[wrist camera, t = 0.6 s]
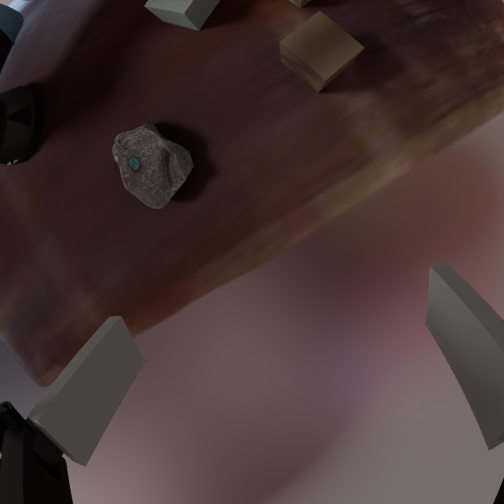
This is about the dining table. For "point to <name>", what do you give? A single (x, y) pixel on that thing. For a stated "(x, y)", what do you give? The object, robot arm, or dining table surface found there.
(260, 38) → the dining table surface
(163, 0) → the grey green cube
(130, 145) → the rock
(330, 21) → the walnut block
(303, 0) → the plinth
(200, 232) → the dining table surface
